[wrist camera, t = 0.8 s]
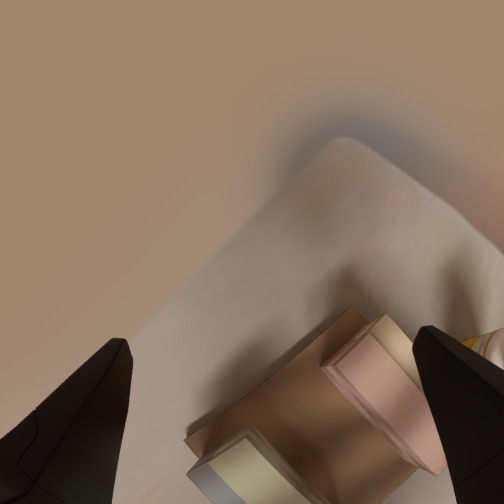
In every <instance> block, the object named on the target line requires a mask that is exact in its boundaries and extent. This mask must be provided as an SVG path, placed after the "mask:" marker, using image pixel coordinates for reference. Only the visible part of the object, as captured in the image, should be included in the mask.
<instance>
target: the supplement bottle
mask: <svg viewBox="0 0 504 504" xmlns="http://www.w3.org/2000/svg"><path fill="white" fill-rule="evenodd" d="M460 343H462V344H464V345H465V346H467V347H468V348H470V349H472V350H473V351H475V352H476V353H478V354H480V355H481V356H483V357H484V358H486V359H488V360H489V361H491V362H492V363H494V364H495V365H497V366H499V367H500V368H502V369H503V370H504V328H502V329H499V330H496V331H493V332H490V333H487V334H484V335H481V336H478V337H474V338H471V339H468V340H465V341H462V342H460Z"/></svg>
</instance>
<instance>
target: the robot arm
mask: <svg viewBox="0 0 504 504" xmlns="http://www.w3.org/2000/svg"><path fill="white" fill-rule="evenodd" d="M412 352H413V356H414V359H415V363H416V366H417V370H418V373H419V377H420V381H421V385H422V388H423V391H424V394H425V397H426V400H427V402H428V405H429V408H430V411H431V414H432V417H433V420H434V423H435V426H436V429H437V432H438V435H439V438H440V441H441V444H442V448H443V451H444V454H445V458H446V461H447V465H448V469H449V472H450V476H451V480H452V484H453V487H454V493H455V497H456V501H457V504H504V370H503V369H502V368H500V367H499V366H497V365H495V364H494V363H492V362H491V361H489V360H488V359H486V358H484V357H483V356H481V355H480V354H478V353H476V352H475V351H473V350H472V349H470V348H468V347H467V346H465V345H464V344H462V343H460V342H459V341H457V340H456V339H454V338H452V337H451V336H449V335H447V334H446V333H444V332H443V331H441V330H439V329H438V328H436V327H434V326H432V325H428V326H423V327H421V328H420V329H419V331H418V334H417V336H416V338H415V340H414V342H413V345H412ZM132 370H133V358H132V355H131V351H130V348H129V345H128V342H127V340H126V339H124V338H112V339H110V340H109V341H108V342H107V343H106V344H105V345H104V346H103V347H101V348H100V349H99V350H98V351H97V352H96V353H95V354H94V355H93V356H91V357H90V358H89V359H88V360H87V361H86V362H85V363H84V364H83V365H82V366H80V367H79V368H78V369H77V370H76V371H75V372H74V373H73V374H72V375H71V376H70V377H68V379H66V380H65V381H64V382H63V383H62V384H61V385H60V386H59V387H58V388H57V389H56V390H55V391H53V392H52V393H51V394H50V395H49V396H48V397H47V398H46V399H45V400H44V401H43V402H42V403H41V404H40V405H39V406H38V407H36V410H33V411H32V412H31V413H30V414H29V415H28V416H27V417H26V418H25V419H24V420H22V421H21V422H20V423H19V424H18V425H17V426H16V427H15V428H13V429H12V430H11V431H10V432H9V433H7V434H6V435H5V436H4V437H2V438H1V439H0V504H112V497H113V490H114V483H115V477H116V471H117V465H118V459H119V454H120V448H121V443H122V438H123V433H124V428H125V423H126V418H127V413H128V407H129V397H130V388H131V379H132Z"/></svg>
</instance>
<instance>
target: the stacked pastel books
mask: <svg viewBox="0 0 504 504" xmlns="http://www.w3.org/2000/svg"><path fill="white" fill-rule="evenodd" d="M412 345H413V343H412V342H411V341H410V340H409V338H408V337H407V336H406V335H405V334H404V333H403V332H402V330H401V329H400V328H399V327H398V326H397V325H396V324H395V322H394V321H393V320H392V319H391V318H390V317H389V316H388V315H387V314H384V315H382V316H381V317H379V318H377V319H376V320H374V321H372V322H370V323H369V324H368V323H367V322H366V321H365V320H364V319H363V317H362V316H361V315H360V314H359V313H358V312H357V311H356V310H355V309H354V308H353V306H351V307H350V308H349V309H348V310H347V311H346V312H345V313H344V314H343V315H342V316H341V317H340V318H338V319H337V320H336V321H335V322H334V323H333V324H332V325H331V326H330V327H329V328H328V329H326V330H325V331H324V332H323V333H322V334H321V335H320V336H319V337H318V338H316V339H315V340H314V341H313V342H312V343H311V344H310V345H308V346H307V347H306V348H305V349H304V350H303V351H302V352H300V353H299V354H298V355H297V356H296V357H294V358H293V359H292V360H291V361H290V362H288V363H287V364H286V365H285V366H284V367H282V368H281V369H280V370H279V371H278V372H276V373H275V374H274V375H273V376H271V377H270V378H269V379H268V380H266V381H265V382H264V383H262V384H261V385H260V386H259V387H257V388H256V389H255V390H253V391H252V392H251V393H250V394H248V395H247V396H246V397H244V398H243V399H242V400H240V401H239V402H238V403H236V404H235V405H233V406H232V407H231V408H229V409H228V410H227V411H225V412H224V413H222V414H221V415H220V416H218V417H217V418H215V419H214V420H212V421H211V422H210V423H208V424H207V425H205V426H204V427H202V428H201V429H199V430H198V431H196V432H195V433H193V434H192V435H190V436H189V437H187V438H186V439H184V440H183V441H184V442H185V443H186V444H187V445H188V447H189V448H190V449H191V450H192V451H193V453H194V454H195V455H196V456H197V457H198V458H199V460H198V461H197V463H196V464H195V465H194V466H193V467H192V468H191V469H190V470H189V471H188V472H187V474H186V475H187V476H188V478H189V479H190V480H191V481H192V482H193V483H194V484H195V485H196V486H197V487H198V488H199V490H200V491H201V492H202V493H203V494H204V495H205V496H206V497H207V498H208V499H209V500H210V501H211V502H212V503H213V504H380V503H381V502H382V501H383V500H384V499H386V498H387V497H388V496H389V495H390V494H391V493H393V492H394V491H395V490H396V489H397V488H398V487H399V486H400V485H401V484H403V483H404V482H405V481H406V480H407V479H408V478H409V477H410V476H411V475H412V474H413V473H414V472H415V471H416V470H417V469H418V468H421V469H423V470H425V471H427V472H429V473H431V474H433V475H435V476H438V475H439V474H440V473H441V471H442V470H443V469H444V468H445V467H446V466H447V461H446V458H445V454H444V451H443V448H442V444H441V441H440V438H439V435H438V432H437V429H436V426H435V423H434V420H433V417H432V414H431V411H430V408H429V405H428V402H427V400H426V397H425V394H424V391H423V388H422V385H421V381H420V377H419V373H418V370H417V366H416V363H415V359H414V356H413V352H412Z"/></svg>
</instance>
